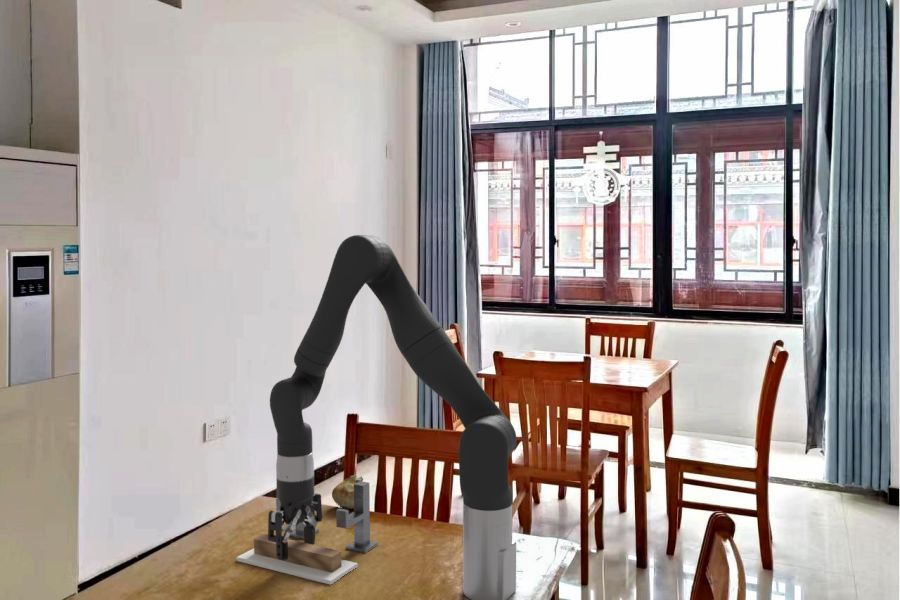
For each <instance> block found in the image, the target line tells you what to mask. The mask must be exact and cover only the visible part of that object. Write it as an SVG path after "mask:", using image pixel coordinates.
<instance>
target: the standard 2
mask: <svg viewBox="0 0 900 600" xmlns="http://www.w3.org/2000/svg"><path fill="white" fill-rule="evenodd" d="M370 493H371V492H370V482H368V481H367V482H366V481H359V482H357V483H355V484H354V508H353V511H352V512H350V511H349V510H350V509H345V508H340V507H339V508H337V509H336V512H335V513H336V514H335V515H336V518H335V520H336V522H335V523H336V528H340V529H345V530H346V529H349V528H350V527H352V526H353V531H354V532H353V534H354V535H353V536H354V539H353V540H354V541H352V542H350V543H349V544H347V545H345V549H346V550H350V551H354V552H359V553H364V554H366V553H368V552H369V551H371V550H372V549H374V548H376V547H377V546H378V545H379V541H375V540H371V532H370V531H371V523H370V521H371V519H370V517H371V515H370V514H371V512H370V509H371V508H370V506H371V505H370V503H371V502H370V498H371V497H370Z"/></svg>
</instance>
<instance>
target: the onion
mask: <svg viewBox="0 0 900 600" xmlns="http://www.w3.org/2000/svg"><path fill="white" fill-rule="evenodd" d="M359 481H362V482H364V478H363V476H362V475H361V476H359V477H358V476H357V475H355V474H354V475H350V476H349V477H346V478H345V479H344V480H343V481H341V482H340V483H338V484H337V485H335V487H334V488H333V489H332V492H331V498H332V499H333V501H334V503H335V504H336V505H337V506H339V508H340V509H345V510H350V509H351V510H352V509H354V484H355V483H357V482H359Z"/></svg>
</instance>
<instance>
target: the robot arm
mask: <svg viewBox="0 0 900 600" xmlns="http://www.w3.org/2000/svg"><path fill="white" fill-rule="evenodd" d="M338 246H339V247H337V251H336V253H335V255H334V259H333V262H332V265H331V268H330V272H329V275H328V277H327V281H326V284H325V287H324V290H323V293H322V296H321V298H320V301H319V303H318V305H317V309H316V311H315V313H314V315H313V318H312V319H311V321H310V324H309V326H308V328H307V330H306V332H305V334H304V336H303V338H302V340H301V341H300V344H299V346H298V347H297V350H296V352H295V354H294V357H293V363H294V365H295V369H294V372H293V373H292V375H291V377H287V378H285V379H281V380H278V382H276V383H275V384H274V385H273V386H272V389H271V391H270V395H269V396H270V397H269V407H270V408H269V409H270V412H271V417H272V420H273V424H274V428H275V431H276V433H277V434H276V435H277V437H276V447H277V449H276V453H277V454H276V462H275V463H276V464H275V469H276V471H275V473H276V484H275V485H276V498H278V499H279V501H280V503H281V505H280V509H279V510H278V511H276V510H270V511H269V512H268V516H267V517H268V518H267V519H268V520H267V521H268V525H267V529H268V530H267V531H268V532H267V534H268V541H272V542H276V556H277V558H278V559H279V560H282V561H285V560H287V559H288V542H287V540H288V539H290V536H289V535H290V533H291V532H293V530H294V529H296V525H298V524H299V523H302V522H303V523H304V525H306V526H305V527H304V539H303V543H308V544H312V545H316V544H315V541H316V534H315V529H316V527H317V526H318V522H322V520H323V511H322V510H323V509H322V508H323V507H322V506H323V505H322V495H321V494H320V493H316V492H315V463H314V454H313V429H312V427H311V425H310V424H308V423H307V422H305V421H304V416H303V410H305V409H308V408H309V407H311V406H312V405H313V404H314V402H316V400H317V399H318V397H319V394H320V393H321V390H322V387H323V383H324V379H325V377H326V372H327V370H328V368H329V366H330V364H331V363H332V360H333V359H334V357H335V354H336V353H337V351H338V349H339V346H340V344H341V342H342V340H343V336H344V333H345V328H346V327H345V326H346V323H347V318H348V314H349V311H350V309H351V306H352V304H353V302H354V300H355V298H356V296H357V295H358V294H359V292H360V291H361V289H362V288H363V287H364V285H367V287H368V288H369V289H370V290H371V291H372V293H373V294H374V295H375V297H376V298H377V300H378V301H379V302H380V305H381V306H382V307H383V309H384V311H385V314H386V316H387V319H388V322H389V325H390V328H391V332H392V336H393V339H394V342H395V344H396V346H397V348H398V350H399V352H400V354H401V355H402V357H403V358H404V359H405V361H406V362H407V364H408V365H409V367H410V368H411V370H412V371H413V373H414V374H415V375H416V376H417V378H418V379H419V380H420V381H422V382H423V383H424V384H425V385H426V386H427V387H428V388H430V389H431V391H433V392H434V393H436V394H437V395H438V396H439V397H440V398H442V399H443V400H444V401H445V402H446V403H447V404H448V405H449V406H450V408H451V409H452V410H453V411H454V413H455V414H456V416H457V418H458V420H459V421H460V423H462V425H463V427H464V430H463V431H462V432H461V435H460V439H459V442H458V443H459V444H458V471H459V486H460V490H461V493H462V503H463V504H462V511H463V512H462V539H463V540H462V592H463V594H464V596H465V597H466V598H468V599H470V600H508V599H510V597H511V596H512V595H513V594H514V593H515V592H516V590H517V541H515V540H513V504H514V503H513V502H514V501H513V488H512V487H511V486H510V484H509V457H511V455H512V453H514V451H515V449H516V446H517V441H518V440H517V433H516V430H515V427H514V426H513V424H512V422H511V421H510V419H508V417H507V416H506V415H505V414H504V412H503V411H502V409H500V408H499V407H498V405H497V404H496V402H494V400H493V399H492V398H491V397H490V396H489V395H488V394H487V392H486V391H485V389H483V387H482V386H481V384H480V383H479V382H478V380H477V379H476V377H475V376H474V373H473V372H472V370H471V369H470V367H469V366H468V364H467V363H466V361H465V360H464V358H463V357H462V355H461V354H460V352H459V351H458V349H457V347H456V346H455V344H454V343H453V341H452V339H451V338H450V337H449V335H448V334H447V333H446V331H445V329H444V328H443V326H442V325H441V324H440V323H439V321H438V320H437V319H436V318H435V316H434V314H433V313H432V311H431V309H429V308H428V306H427V305H426V303H425V302H424V300H423V299H422V298H421V296H420V295H419V294H418V292H417V291H416V290H415V288H414V287H413V286H412V284H411V282H410V281H409V279H408V277H407V275H406V273H405V271H404V270H403V268H402V265H401V264H400V262H399V260H398V258H397V256H396V254H395V252H394V251H393V249H392V248H391V246H390V245H389V243H387V241H385V240H384V239H382V238H380V237H379V236H374V235H366V234H355V235H351V236H348V237H347V238H344V240H343V241H342V242H341V243H340V245H338ZM315 512H316V514H315ZM285 524H286V525H285ZM283 532H284V533H283ZM282 533H283V534H282Z"/></svg>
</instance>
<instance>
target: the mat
mask: <svg viewBox="0 0 900 600" xmlns="http://www.w3.org/2000/svg"><path fill="white" fill-rule="evenodd" d="M236 562H240V563H244V564H249V565H252V566H256V567H260V568H264V569H267V570H271V571H276V572H279V573H283V574H287V575H291V576H296V577H299V578H302V579H306V580H311V581H313V582H318V583H322V584H323V583H324V584H326V585H330V586H331V584H332V585H334V584H335V583H336V582H337V580H338V581H339V580H341V579H342V578H343V577H342V576H344V575H345V574H347V573H348V572H350V571H351V572H352V570H353V569H354V570H356V569H357V568H359V567H358V566H359V565H358V562H355V561H350V560H345V559H342V558H341V563H342V567H340V568H339V569H337V570H336V571H334V572H332V573H331V572H327V571H322V570H318V569H314V568H310V567H306V566H302V565H298V564H294V563H290V562H286V561H282V560H278V559H274V558H270V557H265V556H261V555H257V554H254V547H253V548H252V549H250V550H248V551H246V552H244V553H241V554H240V555H238V556H236ZM355 568H356V569H355ZM354 570H353V571H354ZM351 572H350V573H351ZM348 574H349V573H348ZM348 574H347V575H348ZM345 576H346V575H345ZM345 576H344V577H345ZM341 577H342V578H341ZM340 578H341V579H340ZM334 582H335V583H334Z"/></svg>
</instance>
